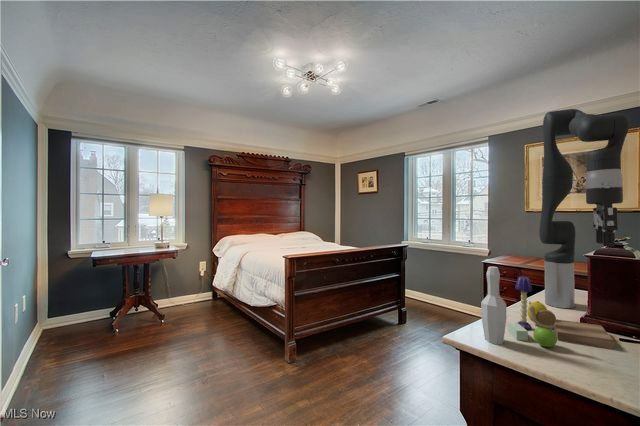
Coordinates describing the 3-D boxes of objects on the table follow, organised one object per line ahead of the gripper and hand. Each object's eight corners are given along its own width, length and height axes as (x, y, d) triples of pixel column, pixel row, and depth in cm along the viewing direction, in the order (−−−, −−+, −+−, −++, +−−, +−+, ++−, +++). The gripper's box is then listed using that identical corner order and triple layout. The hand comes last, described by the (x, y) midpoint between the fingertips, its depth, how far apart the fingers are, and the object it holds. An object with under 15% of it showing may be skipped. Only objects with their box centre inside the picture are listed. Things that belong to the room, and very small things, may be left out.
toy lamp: (536, 329, 97) (535, 278, 97) (525, 331, 95) (525, 279, 95) (522, 324, 101) (521, 274, 101) (511, 326, 100) (511, 276, 100)
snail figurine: (530, 339, 90) (529, 299, 90) (557, 345, 86) (557, 303, 86) (528, 346, 86) (527, 304, 86) (557, 352, 82) (556, 308, 82)
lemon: (539, 329, 97) (539, 304, 97) (523, 323, 102) (523, 299, 102) (552, 327, 99) (552, 302, 98) (536, 321, 104) (535, 297, 104)
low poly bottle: (490, 334, 94) (488, 264, 94) (511, 342, 89) (510, 267, 88) (477, 339, 91) (476, 266, 91) (498, 347, 86) (497, 270, 85)
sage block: (507, 332, 96) (507, 323, 96) (518, 332, 95) (518, 323, 95) (516, 340, 90) (516, 330, 90) (527, 341, 89) (527, 331, 89)
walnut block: (552, 327, 99) (552, 318, 99) (601, 334, 93) (601, 325, 93) (557, 342, 89) (557, 331, 89) (613, 351, 83) (613, 340, 83)
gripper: (581, 189, 92) (582, 242, 92) (590, 186, 80) (592, 246, 80) (615, 187, 88) (616, 243, 88) (630, 184, 76) (631, 248, 76)
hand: (604, 244), depth 84 cm, fingers open, 8 cm apart
